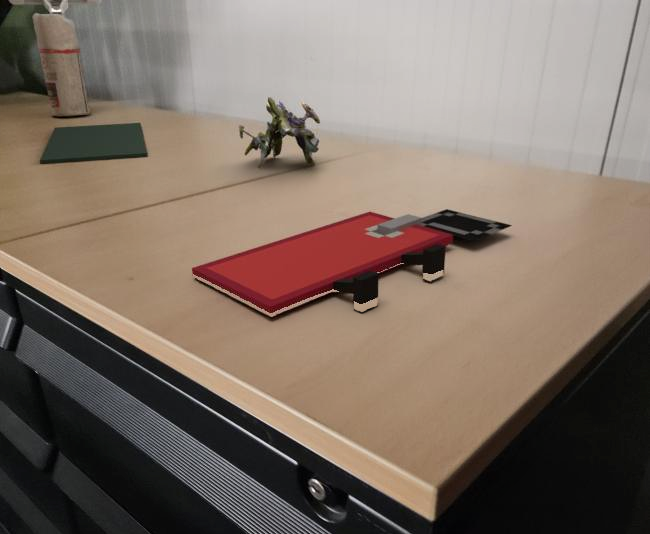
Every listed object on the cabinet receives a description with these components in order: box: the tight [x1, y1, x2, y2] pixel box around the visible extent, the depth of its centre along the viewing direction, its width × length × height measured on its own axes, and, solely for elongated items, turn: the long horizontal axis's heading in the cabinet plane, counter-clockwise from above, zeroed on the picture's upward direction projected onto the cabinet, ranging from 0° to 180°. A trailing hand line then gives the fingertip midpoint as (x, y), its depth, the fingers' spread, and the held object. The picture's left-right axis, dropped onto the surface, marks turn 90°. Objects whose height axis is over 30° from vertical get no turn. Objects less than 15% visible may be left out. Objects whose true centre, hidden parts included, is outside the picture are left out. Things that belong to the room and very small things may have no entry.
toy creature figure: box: [238, 96, 321, 169], centre depth 91 cm, size 11×11×12 cm
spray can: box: [31, 12, 92, 117], centre depth 130 cm, size 8×8×20 cm
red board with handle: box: [191, 208, 513, 313], centre depth 58 cm, size 30×3×15 cm
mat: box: [39, 122, 149, 165], centre depth 109 cm, size 16×29×1 cm, turn 17°
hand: (57, 15), depth 139 cm, fingers closed
